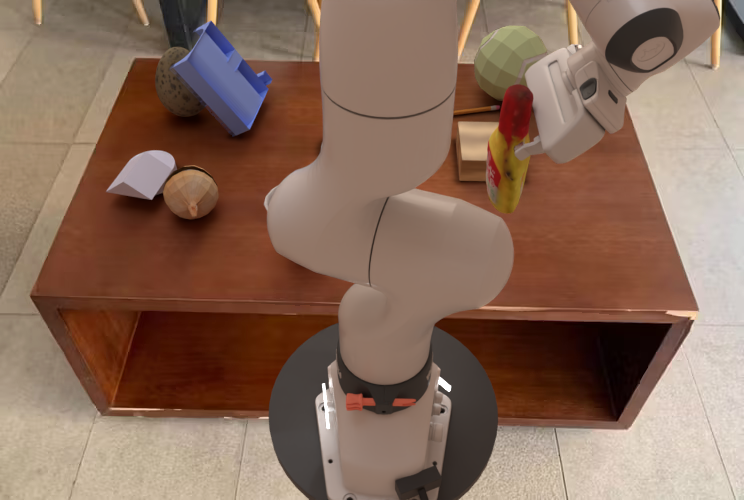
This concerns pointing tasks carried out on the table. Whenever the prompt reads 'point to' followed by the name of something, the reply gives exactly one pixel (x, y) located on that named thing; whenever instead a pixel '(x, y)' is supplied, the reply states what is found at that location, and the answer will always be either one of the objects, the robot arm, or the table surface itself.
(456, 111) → the pencil
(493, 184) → the bottle
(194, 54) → the blue plastic box
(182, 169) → the acorn
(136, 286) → the table surface
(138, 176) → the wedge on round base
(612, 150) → the table surface
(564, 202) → the table surface
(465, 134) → the birch block
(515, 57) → the decorative sphere
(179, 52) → the decorative egg
